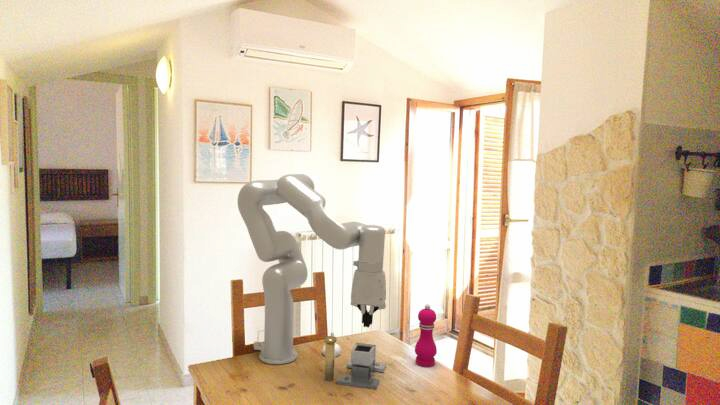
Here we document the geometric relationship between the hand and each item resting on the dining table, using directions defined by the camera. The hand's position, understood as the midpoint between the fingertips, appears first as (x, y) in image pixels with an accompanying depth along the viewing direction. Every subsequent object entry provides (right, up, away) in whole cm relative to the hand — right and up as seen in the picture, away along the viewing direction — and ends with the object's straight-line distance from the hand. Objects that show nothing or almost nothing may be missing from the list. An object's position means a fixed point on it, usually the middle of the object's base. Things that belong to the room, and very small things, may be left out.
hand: (366, 325), depth 149 cm
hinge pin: (-11, -16, 0) cm, 20 cm away
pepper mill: (+20, -16, +14) cm, 29 cm away
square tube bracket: (-1, -16, +6) cm, 17 cm away
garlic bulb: (-12, -15, +19) cm, 27 cm away
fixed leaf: (-2, -16, +1) cm, 17 cm away
